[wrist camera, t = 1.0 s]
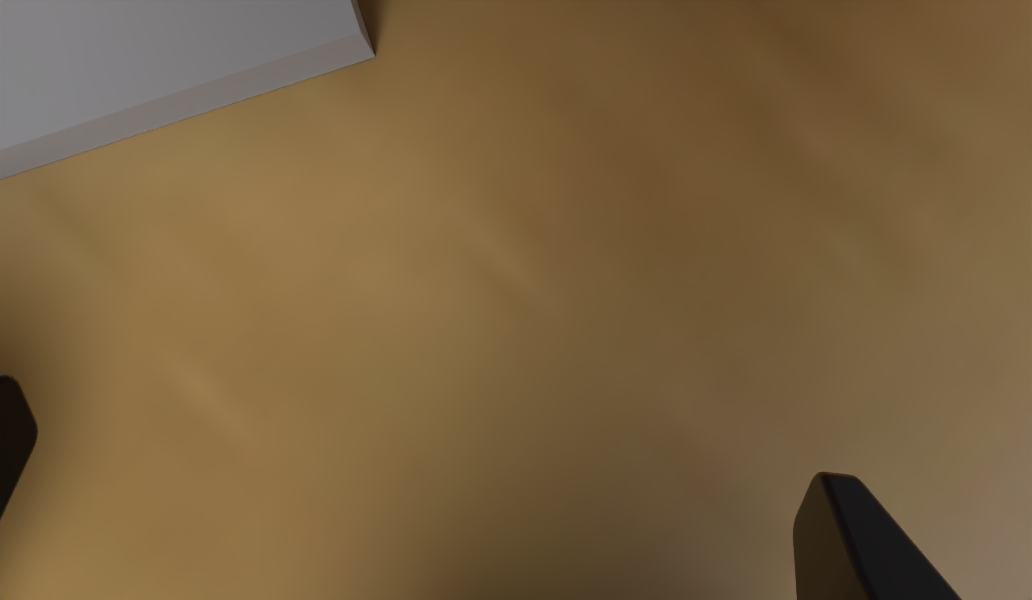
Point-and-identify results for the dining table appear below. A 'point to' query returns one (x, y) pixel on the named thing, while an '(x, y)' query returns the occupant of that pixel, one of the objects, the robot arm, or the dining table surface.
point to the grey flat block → (152, 64)
